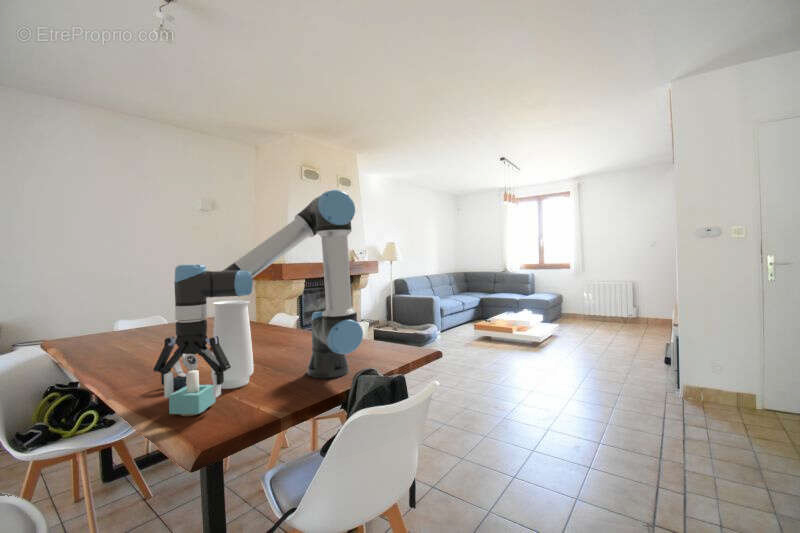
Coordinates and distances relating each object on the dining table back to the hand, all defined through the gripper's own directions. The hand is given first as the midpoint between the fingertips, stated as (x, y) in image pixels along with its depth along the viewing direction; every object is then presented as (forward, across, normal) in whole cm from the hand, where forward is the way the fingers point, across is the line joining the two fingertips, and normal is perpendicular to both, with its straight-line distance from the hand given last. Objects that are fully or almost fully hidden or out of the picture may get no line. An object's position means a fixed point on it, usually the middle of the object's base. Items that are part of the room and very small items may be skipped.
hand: (193, 396), depth 97 cm
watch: (+4, +16, -21) cm, 27 cm away
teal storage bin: (+3, 0, 0) cm, 3 cm away
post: (+4, 0, 0) cm, 4 cm away
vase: (+4, 0, -22) cm, 22 cm away
